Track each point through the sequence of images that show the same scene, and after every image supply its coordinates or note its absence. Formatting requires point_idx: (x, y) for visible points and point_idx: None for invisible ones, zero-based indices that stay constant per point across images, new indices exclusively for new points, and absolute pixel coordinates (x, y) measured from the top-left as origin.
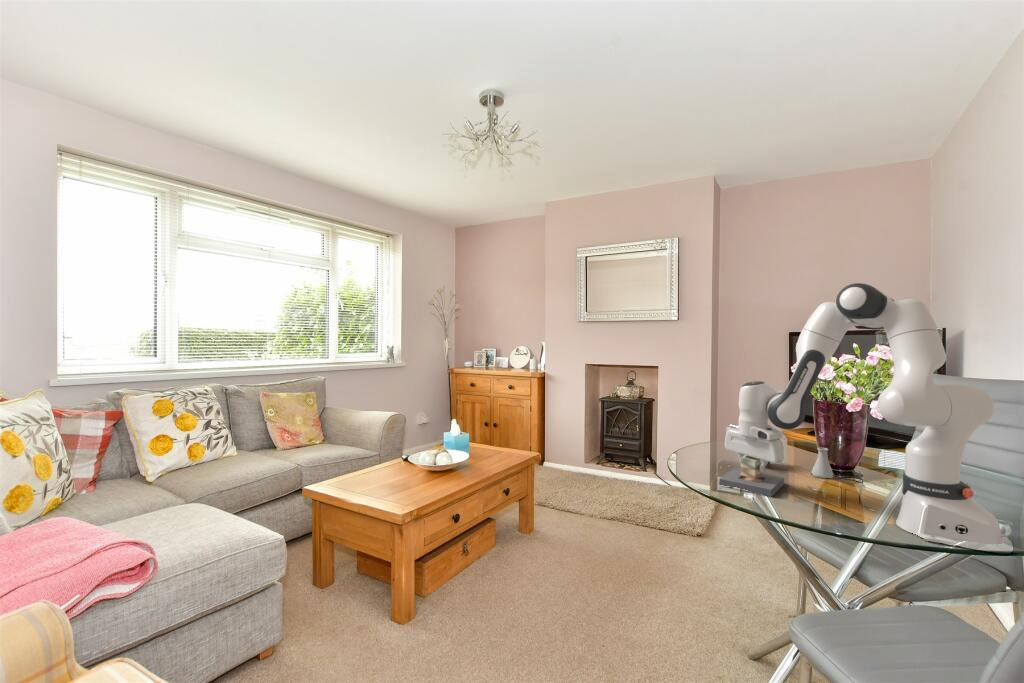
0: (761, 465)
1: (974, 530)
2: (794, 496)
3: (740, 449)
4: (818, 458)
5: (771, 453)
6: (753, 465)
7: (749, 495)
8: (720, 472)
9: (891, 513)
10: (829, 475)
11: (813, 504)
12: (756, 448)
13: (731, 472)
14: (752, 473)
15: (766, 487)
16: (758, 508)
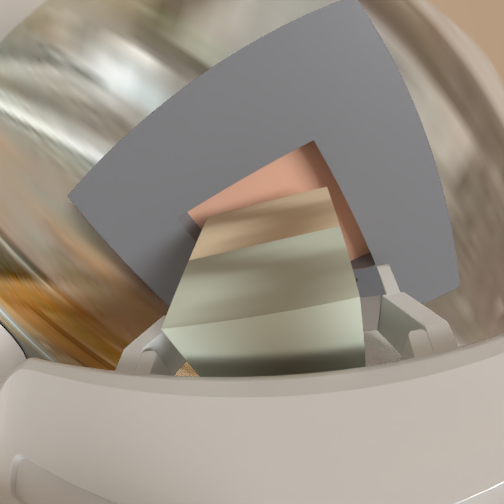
0: (157, 329)
1: None
2: (102, 275)
3: (419, 411)
4: None
5: (9, 421)
6: (189, 287)
7: (124, 78)
8: (497, 216)
9: (37, 352)
10: None
11: (42, 270)
12: (128, 486)
13: (429, 201)
14: (216, 233)
15: (98, 196)
16: (4, 46)
